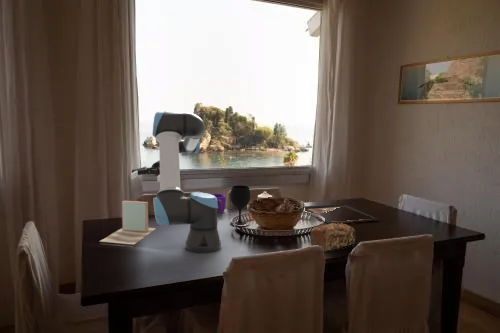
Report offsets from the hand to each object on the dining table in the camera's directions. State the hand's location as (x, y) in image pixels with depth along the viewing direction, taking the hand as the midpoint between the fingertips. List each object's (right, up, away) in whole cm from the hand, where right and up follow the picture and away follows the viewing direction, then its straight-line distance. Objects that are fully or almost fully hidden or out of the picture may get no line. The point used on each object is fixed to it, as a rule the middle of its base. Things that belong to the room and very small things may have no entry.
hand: (144, 177), depth 187 cm
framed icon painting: (+103, -24, +38) cm, 113 cm away
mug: (+33, -22, +34) cm, 52 cm away
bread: (+89, -30, -16) cm, 95 cm away
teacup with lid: (+60, -21, +44) cm, 78 cm away
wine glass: (+46, -25, +13) cm, 54 cm away
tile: (-3, -25, -6) cm, 26 cm away
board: (-4, -27, -12) cm, 30 cm away
